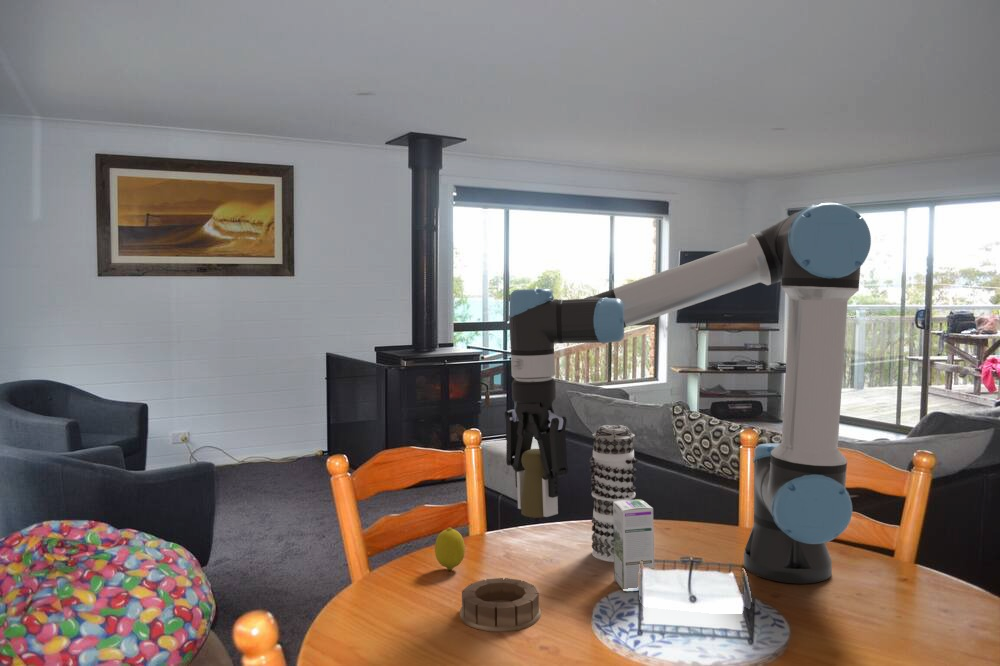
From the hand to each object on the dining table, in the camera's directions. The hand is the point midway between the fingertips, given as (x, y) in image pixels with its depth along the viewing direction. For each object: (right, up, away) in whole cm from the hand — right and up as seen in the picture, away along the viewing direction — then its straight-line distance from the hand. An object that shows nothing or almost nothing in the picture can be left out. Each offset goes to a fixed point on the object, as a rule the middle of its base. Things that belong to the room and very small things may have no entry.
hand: (537, 510), depth 135 cm
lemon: (-16, -13, +9) cm, 22 cm away
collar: (-6, -14, -10) cm, 19 cm away
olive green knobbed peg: (0, 0, 0) cm, 1 cm away
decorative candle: (+16, -12, +16) cm, 26 cm away
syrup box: (+17, -13, +1) cm, 21 cm away
